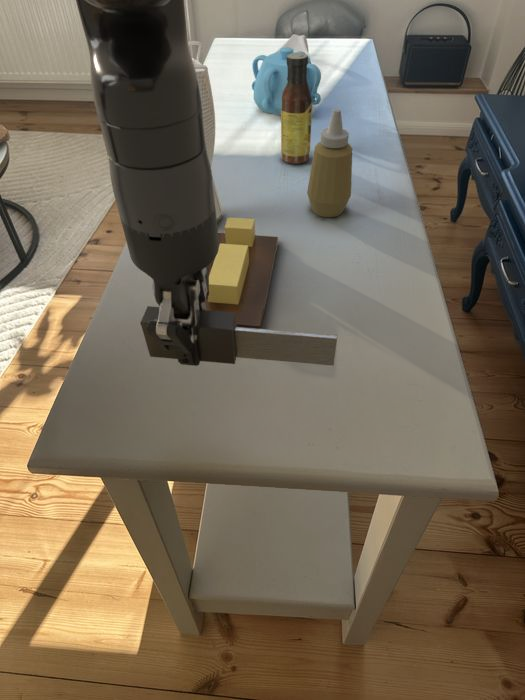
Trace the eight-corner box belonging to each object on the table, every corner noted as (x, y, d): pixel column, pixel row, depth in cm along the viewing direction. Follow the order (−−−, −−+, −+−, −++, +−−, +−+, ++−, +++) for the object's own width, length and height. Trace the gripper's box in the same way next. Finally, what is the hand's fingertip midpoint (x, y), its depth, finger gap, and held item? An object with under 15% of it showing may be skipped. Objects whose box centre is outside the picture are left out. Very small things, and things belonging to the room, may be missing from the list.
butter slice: (226, 245, 81) (224, 227, 78) (229, 235, 83) (227, 217, 80) (252, 247, 80) (251, 229, 78) (255, 236, 82) (254, 218, 80)
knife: (149, 356, 50) (140, 322, 47) (156, 340, 52) (147, 305, 48) (333, 373, 48) (337, 338, 45) (333, 355, 50) (338, 320, 46)
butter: (208, 302, 71) (206, 283, 69) (221, 261, 78) (220, 243, 75) (238, 304, 71) (237, 286, 68) (249, 263, 77) (248, 245, 75)
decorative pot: (322, 120, 119) (327, 58, 109) (257, 123, 117) (256, 61, 107) (310, 95, 130) (314, 37, 120) (251, 98, 128) (249, 39, 118)
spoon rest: (305, 83, 136) (307, 54, 130) (264, 80, 138) (264, 52, 132) (318, 56, 151) (320, 30, 146) (282, 54, 153) (282, 28, 148)
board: (178, 326, 70) (176, 318, 69) (210, 239, 85) (209, 231, 84) (260, 333, 69) (259, 326, 68) (277, 243, 84) (278, 236, 82)
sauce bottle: (313, 163, 103) (320, 59, 89) (285, 167, 102) (288, 63, 88) (303, 150, 108) (308, 49, 93) (276, 154, 107) (277, 52, 92)
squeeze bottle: (343, 224, 87) (357, 123, 74) (300, 217, 89) (306, 116, 76) (353, 202, 92) (366, 103, 79) (312, 195, 94) (319, 98, 81)
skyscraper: (195, 204, 93) (173, 36, 72) (231, 213, 90) (220, 42, 70) (170, 226, 88) (140, 52, 67) (208, 237, 85) (189, 60, 65)
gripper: (147, 160, 43) (175, 305, 56) (88, 252, 34) (138, 401, 46) (229, 164, 42) (239, 310, 55) (193, 260, 33) (215, 409, 45)
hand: (193, 351), depth 50 cm, fingers closed on knife, 2 cm apart
